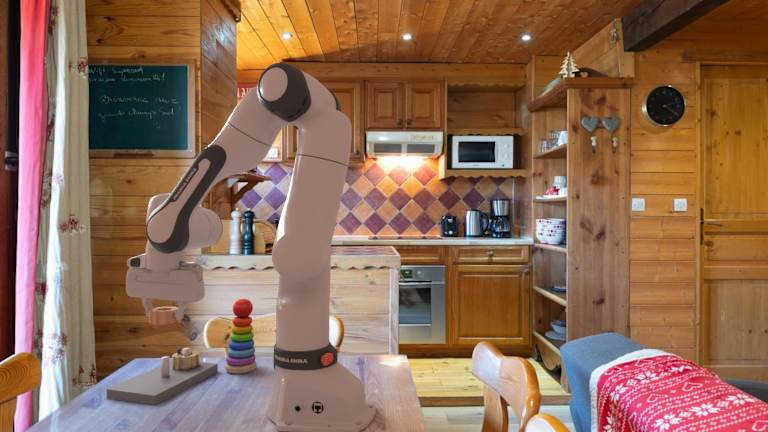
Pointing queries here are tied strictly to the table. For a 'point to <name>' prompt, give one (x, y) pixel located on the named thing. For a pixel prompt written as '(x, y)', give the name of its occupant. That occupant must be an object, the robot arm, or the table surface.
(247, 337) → the stacking toy
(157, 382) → the gear board
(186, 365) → the gear
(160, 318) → the loose gear
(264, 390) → the table surface
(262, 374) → the table surface
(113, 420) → the table surface
